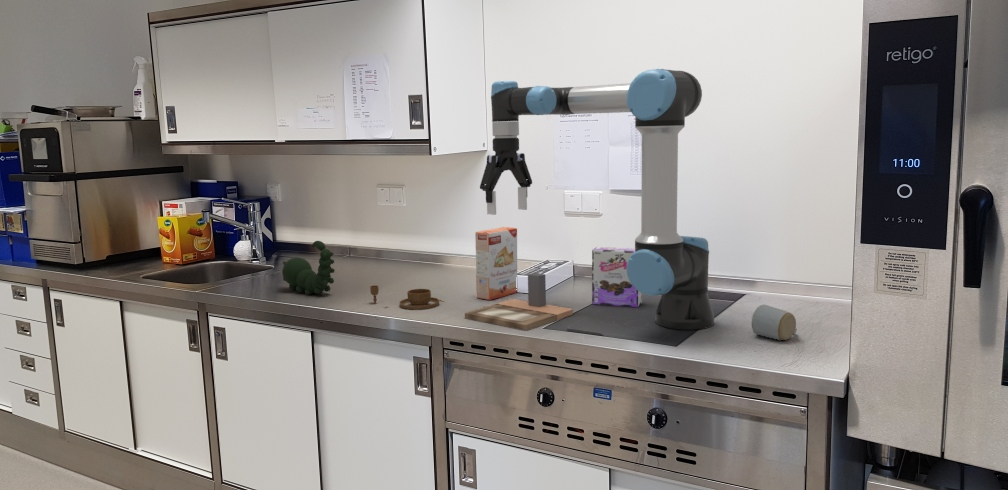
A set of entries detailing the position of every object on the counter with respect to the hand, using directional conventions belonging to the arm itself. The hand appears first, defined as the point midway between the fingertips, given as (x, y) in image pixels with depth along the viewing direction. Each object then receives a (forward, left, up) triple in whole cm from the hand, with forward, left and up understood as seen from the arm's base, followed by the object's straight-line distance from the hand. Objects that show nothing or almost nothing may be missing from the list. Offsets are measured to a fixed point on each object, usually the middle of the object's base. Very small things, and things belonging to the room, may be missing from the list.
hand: (507, 212), depth 218 cm
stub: (-9, 0, -28) cm, 29 cm away
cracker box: (+13, -9, -28) cm, 32 cm away
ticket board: (-9, +11, -28) cm, 31 cm away
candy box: (-23, -21, -28) cm, 42 cm away
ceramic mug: (-73, -14, -28) cm, 80 cm away
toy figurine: (+68, +23, -28) cm, 77 cm away
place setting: (+28, +14, -29) cm, 42 cm away
